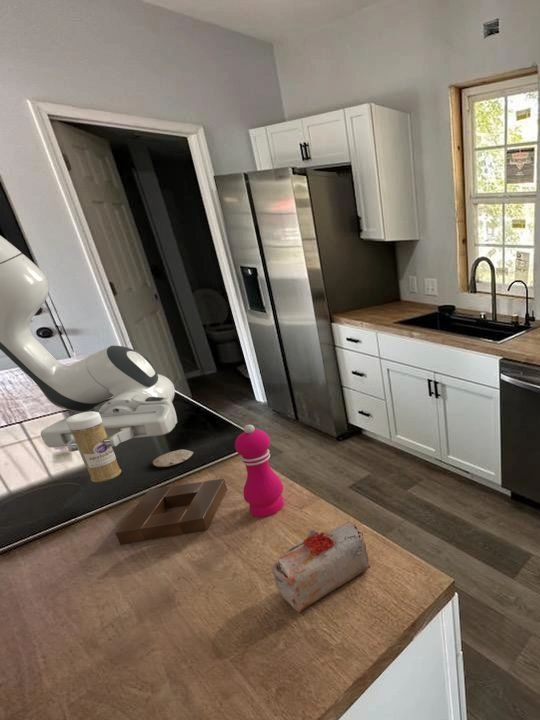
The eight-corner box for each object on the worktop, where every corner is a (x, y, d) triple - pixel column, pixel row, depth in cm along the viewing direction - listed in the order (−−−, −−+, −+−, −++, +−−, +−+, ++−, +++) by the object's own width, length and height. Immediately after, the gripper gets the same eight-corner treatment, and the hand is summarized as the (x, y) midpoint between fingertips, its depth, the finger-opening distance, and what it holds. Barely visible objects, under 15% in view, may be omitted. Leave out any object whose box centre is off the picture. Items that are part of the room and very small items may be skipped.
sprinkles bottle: (106, 484, 79) (80, 422, 74) (84, 482, 80) (57, 420, 75) (128, 470, 84) (105, 411, 79) (108, 469, 84) (84, 409, 79)
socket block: (120, 545, 77) (114, 532, 76) (153, 500, 90) (149, 489, 89) (207, 530, 82) (203, 518, 81) (227, 489, 94) (224, 478, 93)
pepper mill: (251, 501, 90) (231, 419, 83) (288, 494, 93) (271, 415, 85) (244, 522, 84) (222, 436, 77) (284, 514, 86) (266, 430, 79)
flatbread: (159, 472, 99) (157, 468, 99) (149, 461, 104) (148, 457, 103) (198, 458, 106) (197, 454, 105) (187, 448, 110) (186, 445, 109)
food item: (294, 622, 64) (283, 574, 60) (274, 592, 68) (263, 546, 65) (374, 572, 73) (368, 527, 69) (352, 549, 78) (345, 506, 74)
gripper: (61, 407, 86) (12, 438, 74) (178, 396, 92) (150, 424, 80) (73, 433, 88) (27, 468, 76) (186, 421, 95) (160, 452, 82)
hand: (91, 445), depth 78 cm, fingers closed on sprinkles bottle, 4 cm apart
